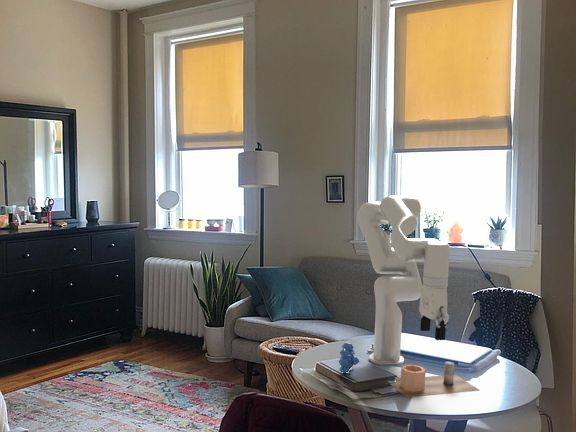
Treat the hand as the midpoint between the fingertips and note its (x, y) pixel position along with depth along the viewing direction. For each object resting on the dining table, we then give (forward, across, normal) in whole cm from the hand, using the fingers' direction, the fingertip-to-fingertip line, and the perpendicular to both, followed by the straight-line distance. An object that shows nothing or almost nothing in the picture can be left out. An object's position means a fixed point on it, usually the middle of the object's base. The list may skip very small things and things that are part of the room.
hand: (432, 335), depth 184 cm
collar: (+17, -1, -5) cm, 18 cm away
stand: (+18, -1, +2) cm, 19 cm away
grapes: (+19, -16, -21) cm, 32 cm away
